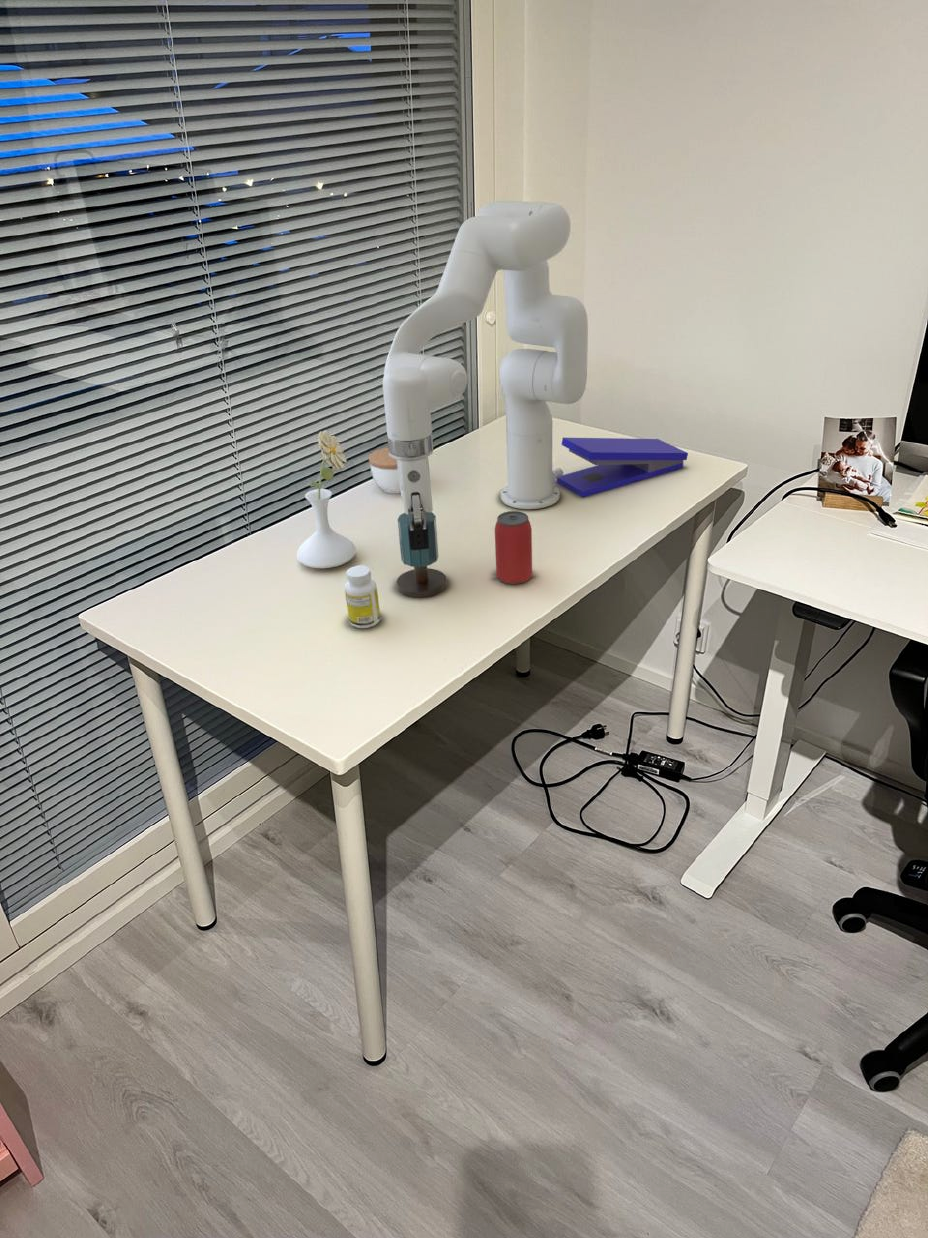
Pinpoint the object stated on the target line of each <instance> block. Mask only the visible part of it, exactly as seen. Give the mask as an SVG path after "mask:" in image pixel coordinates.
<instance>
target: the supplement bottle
mask: <svg viewBox="0 0 928 1238" xmlns="http://www.w3.org/2000/svg"><path fill="white" fill-rule="evenodd" d="M346 580H347V581H346V582H345V584H344V595H345V602H346V608H347V609H346V610H347V615H348V621H349V624H350V625H351V626H352V627H354V628H358V629H368V628H371V627H374V626H376V625H377V624H378V623H379V622H380V620H381V611H380V610H381V609H380V603H379V602H380V601H379V593H378V587H377V583H376V580H375V579H373V578H372V572H371V569H370V567H369V566H366V565H355V566H352V567H350V568H348V569H347V571H346Z"/></svg>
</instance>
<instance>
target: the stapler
mask: <svg viewBox="0 0 928 1238" xmlns="http://www.w3.org/2000/svg"><path fill="white" fill-rule="evenodd" d="M560 445H561V446H563V447H564V448H567V449H568V452H570V453H572V454H574V455H575V456H577V457H578V458H581V459H583V460H585V461H587V462H588V463H591V464H592V465H593V466H590V467H587V468H583V469H579V470H576V471H573V472H569V473H566V474H563V475H562V476H560V477H559V478H557V479H556V483H557V484H559V485H560V486H562V487H564V488H566V489H567V490H569V491H571V492H573V493H574V494H576V495H577V496H580V497H581V498H587V497H589V496H592V495H596V494H599V493H602V492H606V491H610V490H613V489H616V488H620V487H623V486H626V485H630V484H633V483H637V482H640V481H644V480H647V479H650V478H653V477H657V476H660V475H661V476H662V475H663V474H667V473H670V472H674V471H677V470H680V469H683V468H684V461H688V456H689V452H687V451H685V450H683V449H681V448H679V447H677V446H674V445H672V444H670V443H667V442H665V441H663V440H661V439H660V438H620V437H619V438H617V437H614V438H613V437H562V440H561V444H560Z"/></svg>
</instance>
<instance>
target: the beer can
mask: <svg viewBox="0 0 928 1238" xmlns="http://www.w3.org/2000/svg"><path fill="white" fill-rule="evenodd" d="M532 529H533V528H532V525H531V521H530V519H529V515H528V514H527V513H525V512H523V511H518V510H510V511H505V512H502V513H499V515H498V516H497V518H496V523H495V526H494V547H495V548H494V549H495V574H496V578H497V579H498V580H499V581H500V582H502V583H505V584H508V585H509V584H510V585H520V584H523V583H526V582H527V581H528V580H530V579H531V577H532V575H533V537H532V535H533V533H532Z"/></svg>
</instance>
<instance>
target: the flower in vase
mask: <svg viewBox="0 0 928 1238" xmlns="http://www.w3.org/2000/svg"><path fill="white" fill-rule="evenodd" d="M317 437H318V440H317V442H318V445H319V446H318V448H319V450H320V451H321V454H322V456H323V458H322V462H321V466H320V471H319V472H320V473H319V479H318V480H319V481H318V482H315V481H311V483H310V485H309V487H318V488H317V489H311V490H309V491H308V492H306V493H305V494H304V497H305V500H307V501H308V502H309V503H310V505H311V507H312V510H313V512H314V516H315V523H316V529H315V531H314V533H312V535H310V536H309V537H308V538H307V539H306V540H304V541H303V542H302V543H301V545H300V546H299V547H298V549H297V551H296V559H297V560H298V561H299V562H300V563H301V565H304V566H306V567H309V568H313V569H329V568H335V567H339V566H342V565H344V564H346V563H348V562H349V561H351V560H352V559H353V558H354V556H355V554H356V552H357V547H356V545H355V544H354V542H353V541H352V540H351V539H349V537H346V536H345V535H343V534H341V533H339V532H337V531H335V530H333V529H332V527H331V525H330V524H329V517H328V507H329V502H330V499H331V497H332V495H333V492H332V491H331V490H330V489H326V488H321V487H322V485H323V484H324V482H322V478H323V479H324V480H326V481H328V482H330V481H331V480H333V478H334V475H335V474H334V471H333V470H335V471H336V470H338V471H340V470H343V469H346V466H345V465H344V463H347V462H348V461H347V458H346V455H345V453H344V451H345V449H344V447H343V446H341V444H340V442H339V441H338V440H337V437H336V436H335V435H331V434H330V432H329V431H328V430H326V429H325V430H323V431H319V434H318V436H317ZM325 462H326V463H327V464H328V465H329V466H330V467H332V468H333V469H332V468H330V467H327V466H324V464H325Z"/></svg>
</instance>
